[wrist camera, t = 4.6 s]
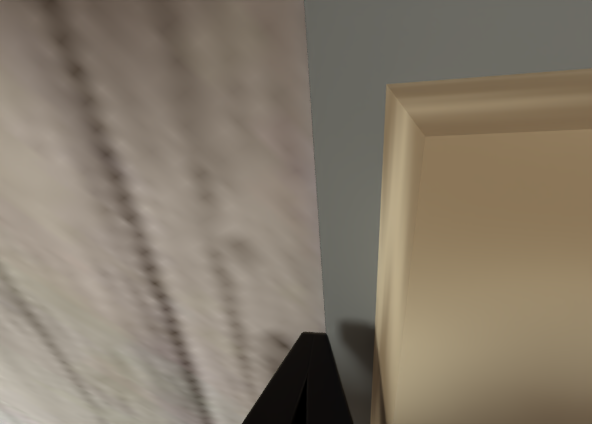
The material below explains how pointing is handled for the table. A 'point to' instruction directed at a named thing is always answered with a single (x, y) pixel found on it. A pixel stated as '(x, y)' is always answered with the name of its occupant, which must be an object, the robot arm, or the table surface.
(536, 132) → the t block
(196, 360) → the table surface
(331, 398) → the robot arm
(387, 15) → the push mat
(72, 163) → the table surface
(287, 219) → the table surface
